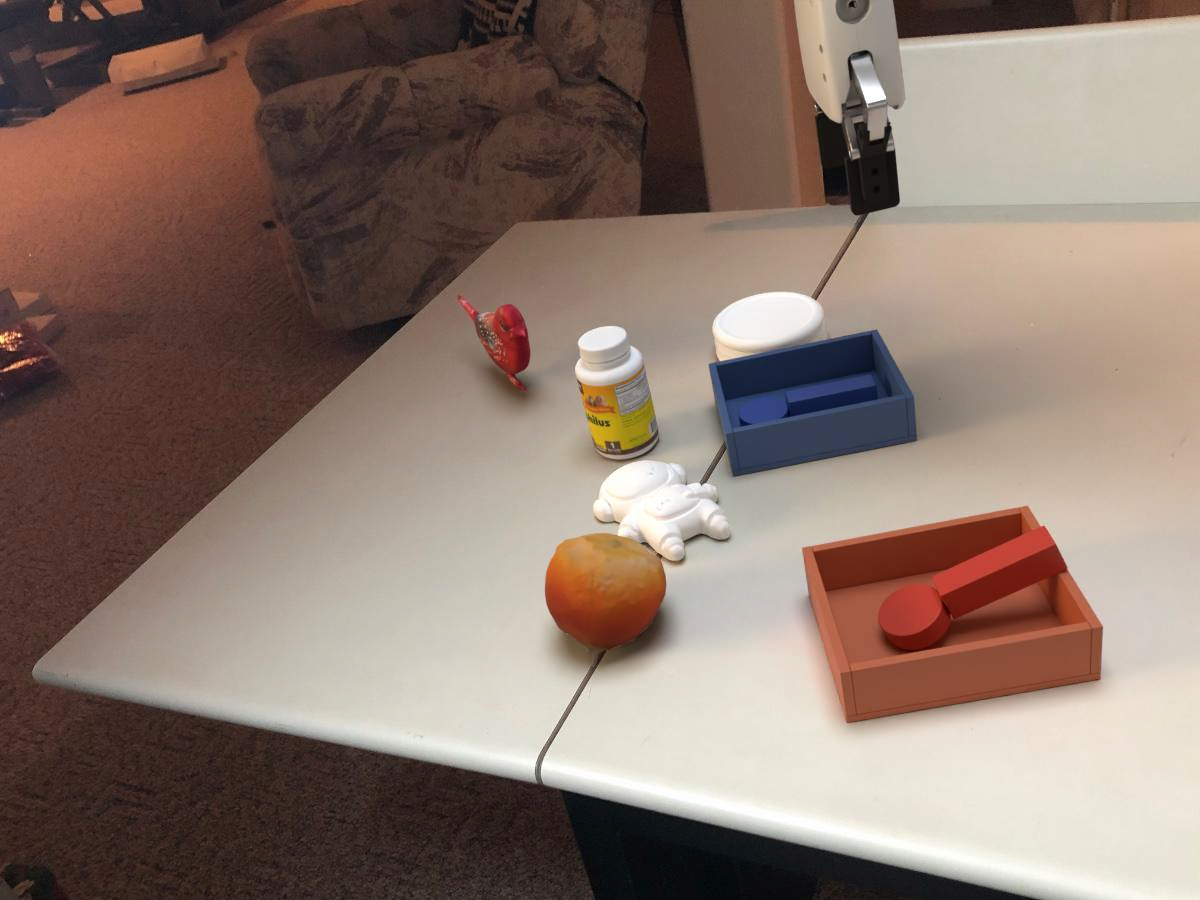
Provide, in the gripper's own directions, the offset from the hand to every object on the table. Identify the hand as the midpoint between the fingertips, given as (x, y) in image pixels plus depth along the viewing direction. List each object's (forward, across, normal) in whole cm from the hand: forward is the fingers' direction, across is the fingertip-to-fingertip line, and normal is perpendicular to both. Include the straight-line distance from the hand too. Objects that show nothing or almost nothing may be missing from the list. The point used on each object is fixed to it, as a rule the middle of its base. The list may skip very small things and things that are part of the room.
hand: (858, 185), depth 77 cm
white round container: (+19, +14, +7) cm, 24 cm away
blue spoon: (+18, +1, +6) cm, 19 cm away
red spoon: (+17, -26, +1) cm, 31 cm away
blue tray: (+19, +1, +6) cm, 20 cm away
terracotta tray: (+19, -25, +3) cm, 32 cm away
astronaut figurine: (+19, -8, +19) cm, 28 cm away
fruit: (+19, -19, +23) cm, 35 cm away
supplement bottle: (+19, +3, +21) cm, 28 cm away
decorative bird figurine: (+18, +19, +32) cm, 41 cm away
